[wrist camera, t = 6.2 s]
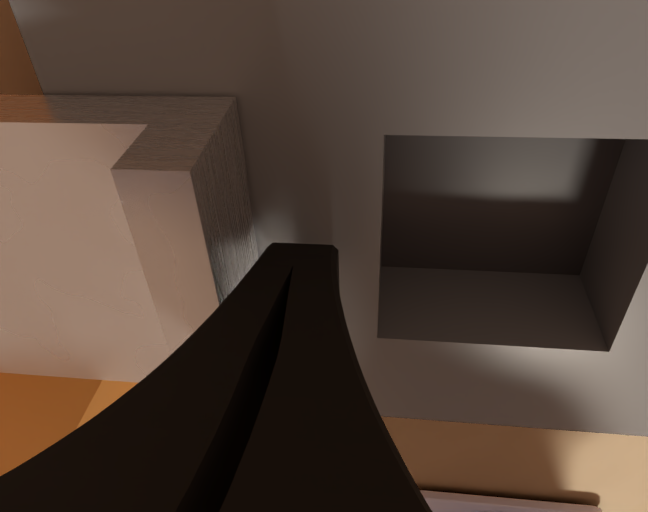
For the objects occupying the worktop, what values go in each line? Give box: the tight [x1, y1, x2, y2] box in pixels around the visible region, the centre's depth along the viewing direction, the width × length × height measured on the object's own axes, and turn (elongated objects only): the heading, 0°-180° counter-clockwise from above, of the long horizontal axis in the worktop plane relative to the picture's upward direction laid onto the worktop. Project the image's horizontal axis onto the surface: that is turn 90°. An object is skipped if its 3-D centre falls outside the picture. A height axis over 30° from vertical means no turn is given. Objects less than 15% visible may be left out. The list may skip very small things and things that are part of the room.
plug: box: [0, 373, 138, 476], centre depth 18 cm, size 4×4×7 cm
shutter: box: [0, 95, 259, 383], centre depth 11 cm, size 7×7×3 cm
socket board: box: [9, 0, 648, 437], centre depth 13 cm, size 12×14×3 cm
